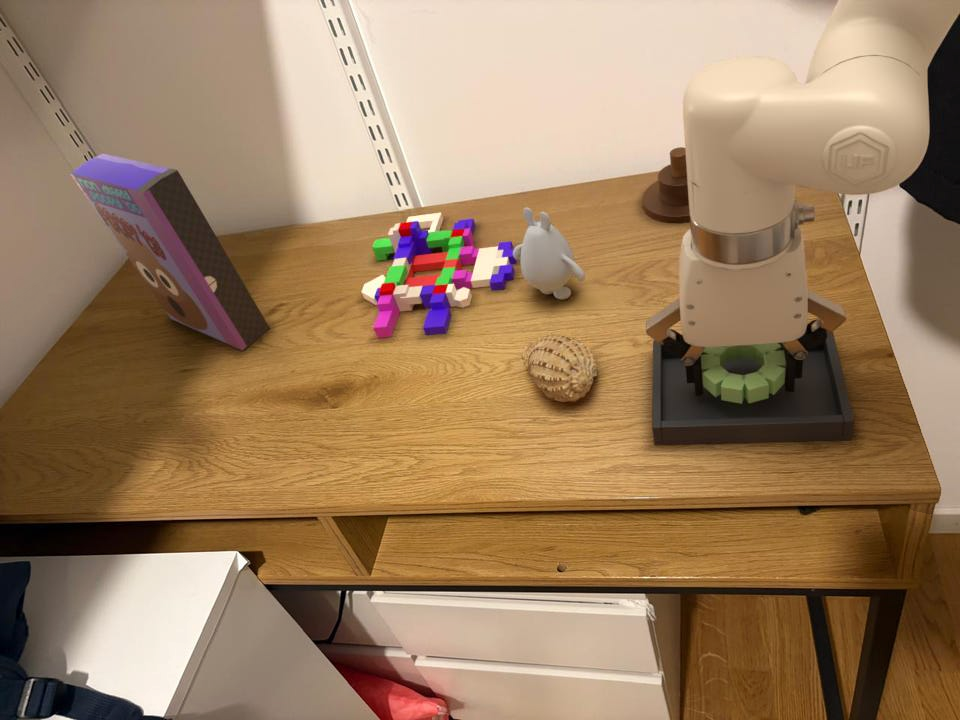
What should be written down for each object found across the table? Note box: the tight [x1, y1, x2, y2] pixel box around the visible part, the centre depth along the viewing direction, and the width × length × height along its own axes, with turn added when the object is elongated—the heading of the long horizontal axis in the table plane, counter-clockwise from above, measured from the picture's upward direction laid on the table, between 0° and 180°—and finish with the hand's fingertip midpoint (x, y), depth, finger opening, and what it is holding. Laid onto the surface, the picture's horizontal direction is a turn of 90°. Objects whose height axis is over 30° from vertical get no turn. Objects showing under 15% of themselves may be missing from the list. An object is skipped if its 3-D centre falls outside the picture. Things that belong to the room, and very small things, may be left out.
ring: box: [701, 343, 786, 404], centre depth 68 cm, size 7×8×2 cm
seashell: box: [521, 334, 598, 403], centre depth 77 cm, size 8×6×10 cm
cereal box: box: [69, 153, 271, 352], centre depth 94 cm, size 17×5×24 cm, turn 53°
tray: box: [651, 331, 855, 446], centre depth 69 cm, size 17×12×2 cm
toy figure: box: [513, 206, 586, 300], centre depth 84 cm, size 11×6×12 cm, turn 47°
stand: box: [642, 146, 690, 224], centre depth 93 cm, size 10×10×7 cm
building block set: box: [360, 212, 518, 339], centre depth 96 cm, size 25×20×4 cm
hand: (742, 382), depth 69 cm, fingers closed on ring, 7 cm apart
